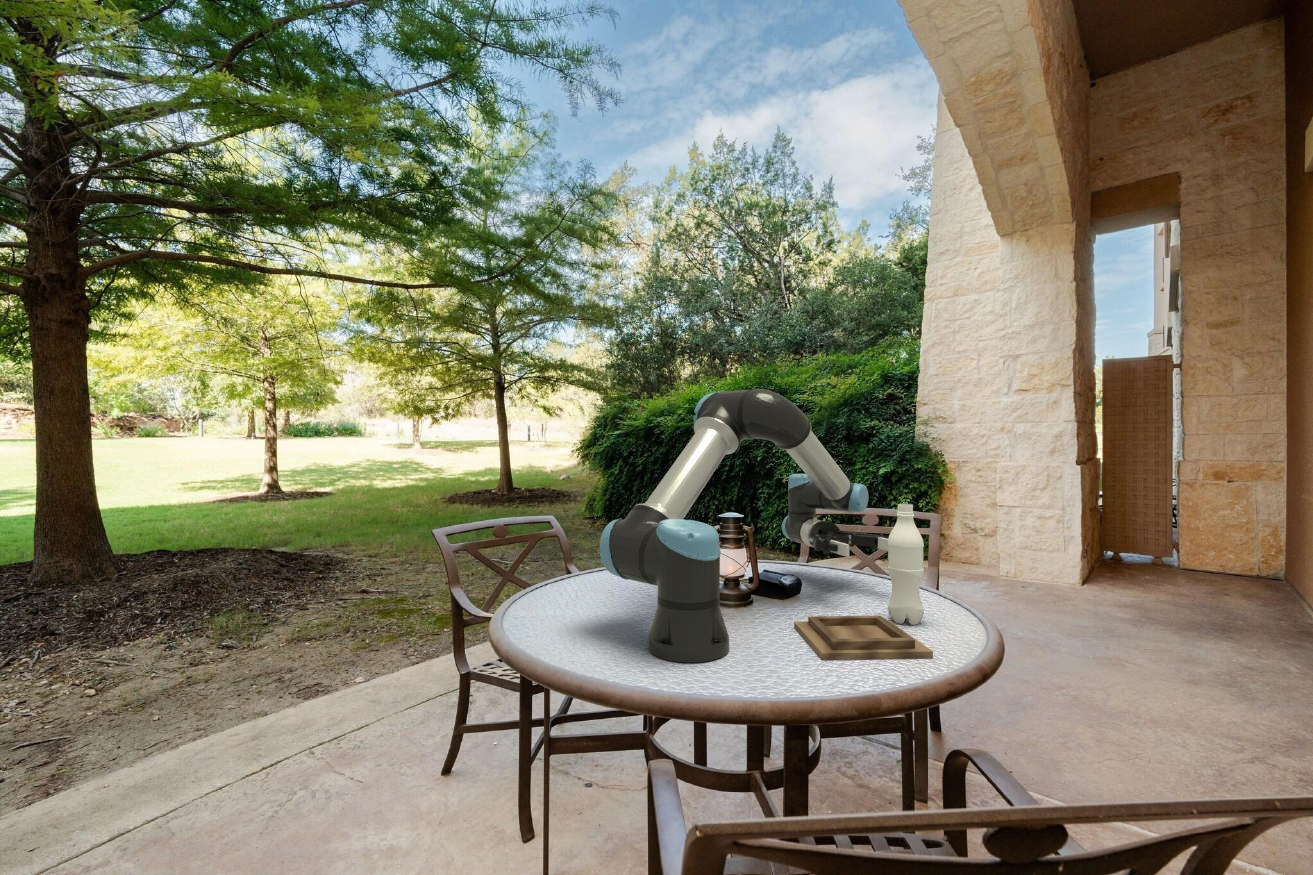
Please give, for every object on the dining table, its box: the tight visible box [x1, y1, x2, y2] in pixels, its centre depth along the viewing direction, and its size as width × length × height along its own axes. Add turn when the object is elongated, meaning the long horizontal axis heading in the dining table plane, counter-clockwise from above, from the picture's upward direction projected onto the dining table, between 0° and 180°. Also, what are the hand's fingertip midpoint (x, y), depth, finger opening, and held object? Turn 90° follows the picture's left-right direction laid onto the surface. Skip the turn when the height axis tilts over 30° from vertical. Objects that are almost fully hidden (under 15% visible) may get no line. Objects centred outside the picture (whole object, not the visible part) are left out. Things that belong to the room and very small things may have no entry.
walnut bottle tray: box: [793, 615, 934, 661], centre depth 113 cm, size 20×18×3 cm
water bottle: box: [887, 503, 925, 626], centre depth 126 cm, size 7×7×25 cm
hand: (873, 549), depth 136 cm, fingers open, 13 cm apart
